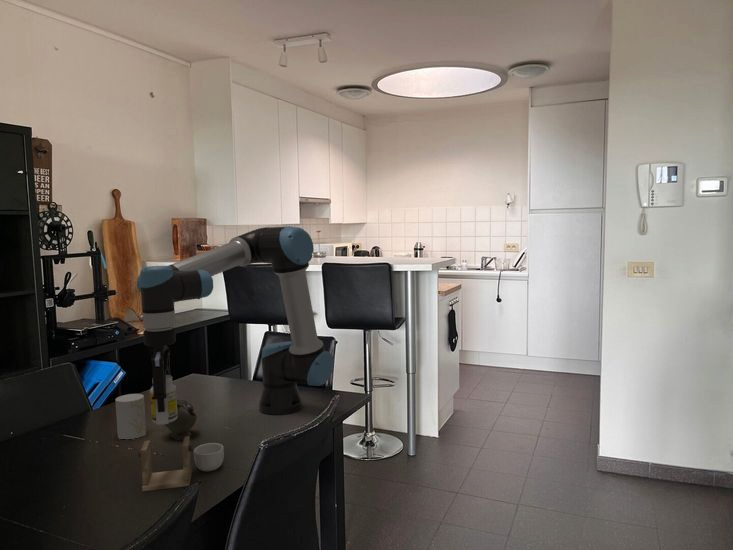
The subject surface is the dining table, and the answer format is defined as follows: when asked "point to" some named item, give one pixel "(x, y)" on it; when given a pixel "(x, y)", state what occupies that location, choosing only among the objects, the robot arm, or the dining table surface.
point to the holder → (167, 477)
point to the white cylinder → (130, 416)
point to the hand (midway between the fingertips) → (164, 419)
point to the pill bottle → (170, 400)
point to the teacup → (209, 456)
